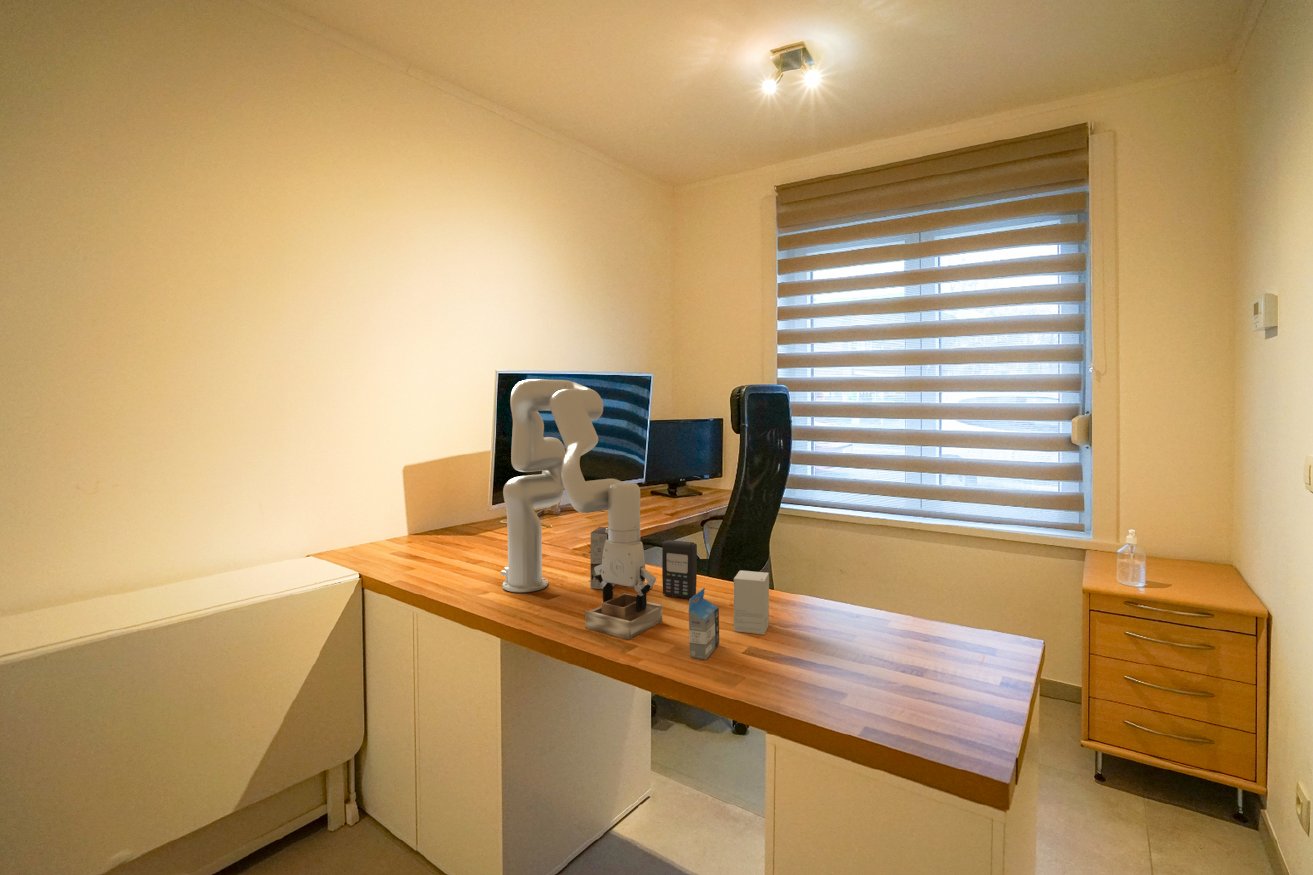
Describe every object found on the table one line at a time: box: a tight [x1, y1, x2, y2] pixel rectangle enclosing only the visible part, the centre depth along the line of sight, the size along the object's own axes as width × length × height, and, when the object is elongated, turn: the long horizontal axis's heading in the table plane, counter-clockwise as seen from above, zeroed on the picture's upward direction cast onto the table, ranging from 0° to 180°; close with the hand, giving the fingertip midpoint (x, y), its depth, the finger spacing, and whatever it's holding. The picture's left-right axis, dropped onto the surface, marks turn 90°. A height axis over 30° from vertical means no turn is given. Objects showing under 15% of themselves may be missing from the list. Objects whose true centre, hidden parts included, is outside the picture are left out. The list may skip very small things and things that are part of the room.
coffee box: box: [589, 526, 616, 590], centre depth 174 cm, size 9×6×16 cm
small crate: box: [601, 592, 646, 621], centre depth 143 cm, size 6×9×5 cm
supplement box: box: [733, 569, 770, 636], centre depth 141 cm, size 7×7×13 cm
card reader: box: [661, 539, 698, 600], centre depth 164 cm, size 9×4×15 cm, turn 67°
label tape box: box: [688, 587, 720, 660], centre depth 128 cm, size 9×4×12 cm, turn 155°
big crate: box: [584, 601, 663, 641], centre depth 143 cm, size 13×14×4 cm
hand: (624, 606), depth 143 cm, fingers open, 9 cm apart
